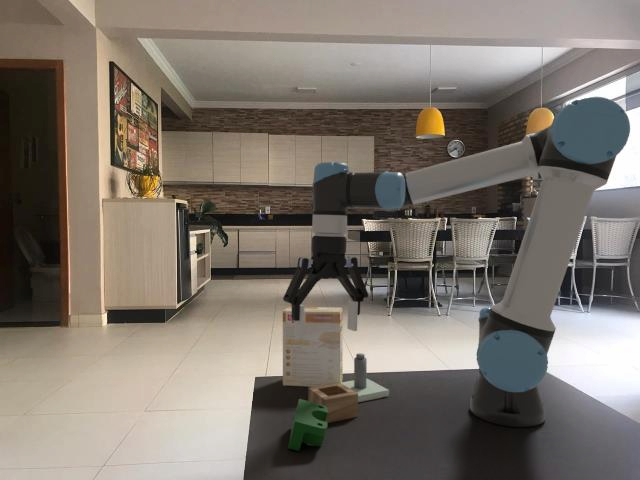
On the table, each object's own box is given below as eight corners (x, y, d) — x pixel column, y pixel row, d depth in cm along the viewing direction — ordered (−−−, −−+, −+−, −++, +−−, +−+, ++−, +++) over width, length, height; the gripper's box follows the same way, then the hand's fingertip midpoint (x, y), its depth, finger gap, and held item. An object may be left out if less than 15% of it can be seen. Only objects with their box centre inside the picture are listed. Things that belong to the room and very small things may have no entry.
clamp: (315, 472, 86) (326, 437, 82) (283, 463, 86) (293, 429, 82) (322, 422, 97) (332, 390, 93) (294, 415, 97) (303, 382, 93)
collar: (358, 416, 100) (358, 393, 100) (324, 423, 96) (324, 399, 96) (339, 404, 107) (339, 382, 107) (308, 410, 103) (308, 387, 103)
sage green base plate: (388, 396, 112) (389, 357, 112) (353, 403, 108) (353, 362, 107) (366, 383, 121) (366, 347, 121) (332, 389, 116) (332, 352, 116)
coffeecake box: (343, 379, 124) (343, 307, 124) (340, 389, 117) (340, 311, 117) (288, 377, 126) (288, 305, 126) (282, 386, 119) (282, 310, 119)
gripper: (365, 235, 110) (362, 324, 111) (269, 233, 97) (266, 334, 98) (385, 236, 104) (382, 330, 105) (285, 235, 91) (282, 342, 92)
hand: (326, 332), depth 101 cm, fingers open, 13 cm apart
